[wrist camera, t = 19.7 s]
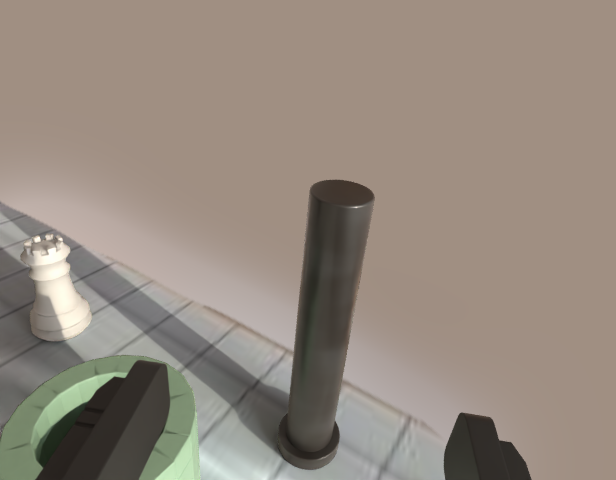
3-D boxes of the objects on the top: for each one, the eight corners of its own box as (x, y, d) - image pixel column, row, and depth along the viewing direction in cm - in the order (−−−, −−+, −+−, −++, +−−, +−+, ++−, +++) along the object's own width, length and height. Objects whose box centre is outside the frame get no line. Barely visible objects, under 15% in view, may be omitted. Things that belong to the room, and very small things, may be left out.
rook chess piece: (83, 302, 39) (67, 222, 35) (100, 330, 36) (85, 247, 32) (26, 320, 36) (1, 237, 32) (39, 352, 34) (14, 265, 30)
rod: (268, 457, 28) (286, 199, 19) (289, 408, 31) (313, 169, 22) (329, 478, 27) (378, 218, 18) (343, 426, 30) (391, 184, 21)
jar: (-2, 568, 22) (-54, 470, 18) (110, 431, 28) (90, 338, 25) (144, 637, 20) (123, 545, 16) (225, 473, 27) (225, 380, 23)
